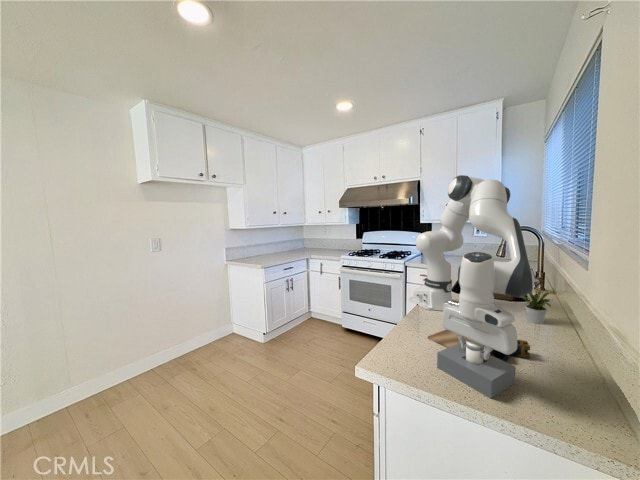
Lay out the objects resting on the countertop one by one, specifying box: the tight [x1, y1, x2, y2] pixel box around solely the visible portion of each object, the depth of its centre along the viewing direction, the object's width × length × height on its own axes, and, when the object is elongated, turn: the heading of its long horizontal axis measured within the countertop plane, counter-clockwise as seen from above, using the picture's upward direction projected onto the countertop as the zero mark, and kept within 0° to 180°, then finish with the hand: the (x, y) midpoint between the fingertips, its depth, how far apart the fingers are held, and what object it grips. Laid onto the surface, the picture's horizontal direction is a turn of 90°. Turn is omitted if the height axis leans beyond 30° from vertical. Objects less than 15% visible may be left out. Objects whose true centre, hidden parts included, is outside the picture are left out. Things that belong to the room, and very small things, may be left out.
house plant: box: [520, 285, 554, 325], centre depth 110 cm, size 14×14×16 cm
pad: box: [427, 329, 469, 349], centre depth 96 cm, size 14×14×1 cm
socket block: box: [436, 343, 517, 399], centre depth 76 cm, size 16×12×5 cm
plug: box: [466, 339, 485, 366], centre depth 76 cm, size 4×4×10 cm
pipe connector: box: [489, 339, 531, 362], centre depth 87 cm, size 12×5×15 cm
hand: (474, 353), depth 76 cm, fingers closed on plug, 4 cm apart
